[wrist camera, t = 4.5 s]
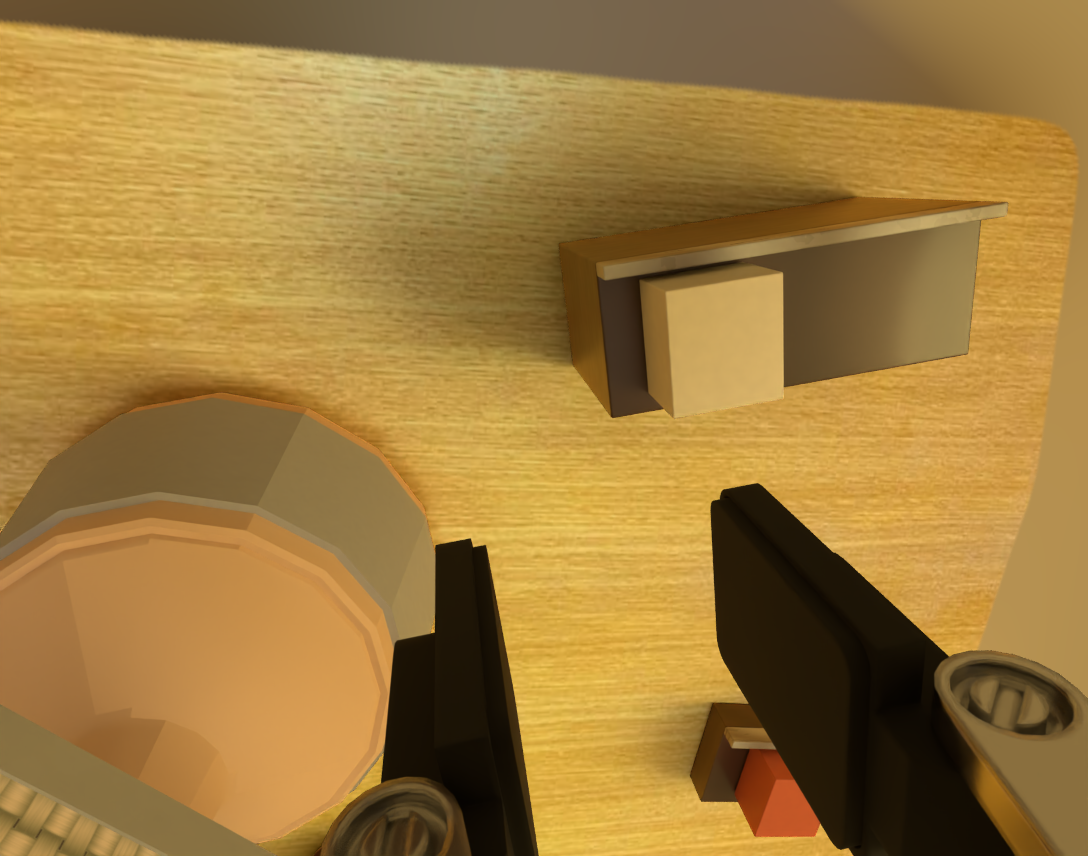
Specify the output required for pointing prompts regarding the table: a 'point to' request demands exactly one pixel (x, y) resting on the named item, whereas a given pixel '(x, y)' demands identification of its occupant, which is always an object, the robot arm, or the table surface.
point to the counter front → (790, 287)
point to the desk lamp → (201, 629)
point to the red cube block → (773, 798)
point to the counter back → (726, 750)
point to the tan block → (713, 338)
